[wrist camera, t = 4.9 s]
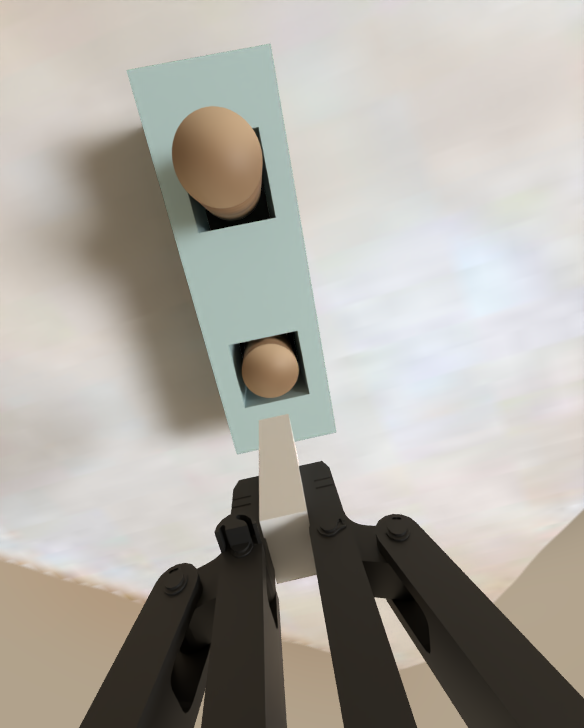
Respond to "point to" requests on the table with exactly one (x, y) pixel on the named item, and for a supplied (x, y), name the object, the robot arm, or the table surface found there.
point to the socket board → (240, 240)
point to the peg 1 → (219, 162)
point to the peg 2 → (269, 366)
